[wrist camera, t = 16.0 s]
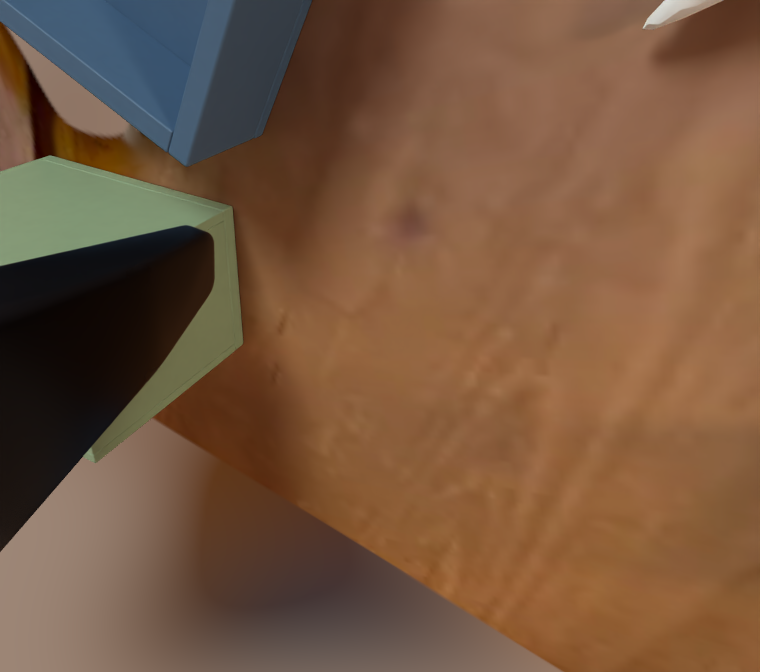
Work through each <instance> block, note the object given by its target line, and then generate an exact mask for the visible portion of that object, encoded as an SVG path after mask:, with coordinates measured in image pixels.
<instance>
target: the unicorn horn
mask: <svg viewBox="0 0 760 672" xmlns="http://www.w3.org/2000/svg"><path fill="white" fill-rule="evenodd" d="M721 1H723V0H665V1H664V2H663V3H662V4H661V5H660V6H659V7H658V8H657V9H656V10H655V11H654V12H653V13H652V14H651V15H650V16H649V17H648V19H647V21H646V23H645V25H644V27H643V29H649V30H654V29H656V28H659V27H662V26H665V25H668V24H670V23H673V22H676V21H679V20H681V19H683V18H686V17H688V16H690V15H692V14H694V13H697V12H699V11H701V10H703V9H706V8H708V7H710V6H712V5H714V4H717V3H719V2H721Z"/></svg>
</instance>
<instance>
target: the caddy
mask: <svg viewBox="0 0 760 672" xmlns="http://www.w3.org/2000/svg"><path fill="white" fill-rule="evenodd" d="M182 225H189V226H192V227H195V228H198V229H201V230H203V231H206V232H208V233H210V234H211V235H212V237H213V239H214V252H215V281H214V286H213V289H212V291H211V293H210V295H209V296H208V298H207V299H206V301H205V302H204V304H203V305H202V307H201V308H200V310H199V311H198V312H197V314H196V315H195V317H194V318H193V320H192V321H191V323H190V324H189V326H188V327H187V329H186V330H185V332H184V333H183V335H182V336H181V337H180V339H179V340H178V342H177V343H176V345H175V346H174V348H173V349H172V351H171V352H170V354H169V355H168V357H167V358H166V359H165V361H164V362H163V363H162V365H161V366H160V367H159V369H158V370H157V371H156V372H155V374H154V375H153V376H152V377H151V378H150V380H149V381H148V382H147V383H146V384H145V385H144V387H143V388H142V389H141V390H140V391H139V392H138V394H137V395H136V396H135V397H134V398H133V399H132V400H131V402H130V403H129V404H128V405H127V406H126V407H125V409H124V410H123V411H122V412H121V413H120V414H119V415H118V417H117V418H116V419H115V420H114V421H113V422H112V424H111V425H110V426H109V427H108V428H107V429H106V430H105V432H104V433H103V434H102V435H101V436H100V437H99V439H98V440H97V441H96V442H95V443H94V444H93V445H92V447H91V448H90V449H89V450H88V451H87V452H86V454H85V455H84V456H83V457H84V458H86V459H88V460H90V461H92V462H94V463H96V462H98V461H99V460H100V459H102V458H103V457H104V456H105V455H106V454H108V453H109V452H110V451H112V450H113V449H114V448H115V447H116V446H118V445H119V444H120V443H122V442H123V441H124V440H125V439H126V438H128V437H129V436H130V435H131V434H133V433H134V432H135V431H136V430H138V429H139V428H140V427H141V426H143V425H144V424H145V423H146V422H148V421H149V420H150V419H151V418H152V417H154V416H155V415H156V414H157V413H159V412H160V411H161V410H162V409H164V408H165V407H166V406H167V405H169V404H170V403H171V402H172V401H174V400H175V399H176V398H177V397H178V396H180V395H181V394H182V393H183V392H185V391H186V390H187V389H188V388H190V387H191V386H192V385H193V384H195V383H196V382H197V381H198V380H200V379H201V378H202V377H203V376H204V375H206V374H207V373H208V372H209V371H211V370H212V369H213V368H214V367H216V366H217V365H218V364H219V363H221V362H222V361H223V360H224V359H226V358H227V357H228V356H229V355H230V354H232V353H233V352H234V351H235V350H236V349H238V348H239V347H240V346H241V345H243V333H242V320H241V308H240V295H239V283H238V270H237V257H236V245H235V232H234V220H233V208H232V206H229V205H226V204H222V203H219V202H215V201H211V200H208V199H204V198H201V197H197V196H194V195H190V194H186V193H183V192H179V191H176V190H172V189H169V188H165V187H161V186H158V185H154V184H151V183H147V182H144V181H140V180H136V179H133V178H129V177H126V176H122V175H119V174H115V173H111V172H108V171H104V170H101V169H97V168H94V167H90V166H86V165H83V164H79V163H76V162H72V161H69V160H65V159H61V158H58V157H54V156H47V157H44V158H41V159H37V160H34V161H31V162H28V163H25V164H22V165H19V166H16V167H13V168H10V169H7V170H4V171H1V172H0V266H2V265H6V264H11V263H15V262H20V261H24V260H29V259H33V258H38V257H42V256H47V255H51V254H56V253H60V252H65V251H69V250H74V249H78V248H83V247H87V246H92V245H96V244H101V243H106V242H110V241H115V240H119V239H124V238H128V237H133V236H137V235H142V234H146V233H151V232H155V231H160V230H164V229H169V228H173V227H178V226H182Z"/></svg>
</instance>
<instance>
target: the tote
mask: <svg viewBox="0 0 760 672" xmlns="http://www.w3.org/2000/svg"><path fill="white" fill-rule="evenodd" d="M311 2H312V0H0V22H2V23H3V24H4V25H5V26H7V27H8V28H9V29H11V30H12V31H13V32H14V33H16V34H17V35H18V36H19V37H21V38H22V39H23V40H25V41H26V42H27V43H28V44H30V45H31V46H32V47H33V48H35V49H36V50H37V51H39V52H40V53H41V54H42V55H44V56H45V57H46V58H47V59H49V60H50V61H51V62H52V63H54V64H55V65H56V66H58V67H59V68H60V69H61V70H63V71H64V72H65V73H66V74H68V75H69V76H70V77H71V78H73V79H74V80H75V81H77V82H78V83H79V84H80V85H82V86H83V87H84V88H85V89H87V90H88V91H89V92H90V93H92V94H93V95H94V96H96V97H97V98H98V99H99V100H101V101H102V102H103V103H104V104H106V105H107V106H108V107H110V108H111V109H112V110H113V111H115V112H116V113H117V114H118V115H120V116H121V117H122V118H123V119H125V120H126V121H127V122H129V123H130V124H131V125H132V126H134V127H135V128H136V129H137V130H139V131H140V132H141V133H143V134H144V135H145V136H146V137H148V138H149V139H150V140H151V141H153V142H154V143H155V144H156V145H158V146H159V147H160V148H162V149H163V150H164V151H165V152H169V154H170V155H171V156H173V157H174V158H175V159H176V160H178V161H179V162H180V163H181V164H183V165H184V166H186V167H188V166H191V165H193V164H195V163H197V162H200V161H202V160H204V159H207V158H209V157H211V156H214V155H216V154H218V153H221V152H223V151H225V150H228V149H230V148H232V147H235V146H237V145H239V144H242V143H244V142H246V141H249V140H251V139H252V138H257V137H259V136H261V135H262V133H263V131H264V128H265V125H266V123H267V120H268V117H269V115H270V112H271V109H272V107H273V104H274V101H275V99H276V96H277V93H278V91H279V88H280V85H281V82H282V80H283V77H284V74H285V72H286V69H287V66H288V64H289V61H290V58H291V56H292V53H293V50H294V48H295V45H296V42H297V40H298V37H299V34H300V31H301V29H302V26H303V23H304V21H305V18H306V15H307V13H308V10H309V7H310V5H311Z"/></svg>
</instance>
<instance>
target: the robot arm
mask: <svg viewBox="0 0 760 672" xmlns="http://www.w3.org/2000/svg"><path fill="white" fill-rule="evenodd" d="M214 281H215V252H214V239H213V237H212V235H211V234H210V233H208V232H206V231H203V230H201V229H198V228H195V227H192V226H189V225H182V226H178V227H173V228H169V229H164V230H160V231H155V232H151V233H146V234H142V235H137V236H133V237H128V238H124V239H119V240H115V241H110V242H106V243H101V244H96V245H92V246H87V247H83V248H78V249H74V250H69V251H65V252H60V253H56V254H51V255H47V256H42V257H38V258H33V259H29V260H24V261H20V262H15V263H11V264H6V265H2V266H0V552H1V550H2V549H3V548H4V547H5V546H6V545H7V544H8V542H9V541H10V540H11V539H12V538H13V537H14V535H15V534H16V533H17V532H18V531H19V529H21V527H22V526H23V525H24V524H25V523H26V522H27V521H28V519H29V518H30V517H31V516H32V515H33V514H34V512H35V511H36V510H37V509H38V508H39V507H40V506H41V504H42V503H43V502H44V501H45V500H46V499H47V497H48V496H49V495H50V494H51V493H52V492H53V490H54V489H55V488H56V487H57V486H58V485H59V483H60V482H61V481H62V480H63V479H64V478H65V477H66V475H67V474H68V473H69V472H70V471H71V470H72V469H73V467H74V466H75V465H76V464H77V463H78V462H79V460H80V459H81V458H82V457H83V456H84V455H85V454H86V452H87V451H88V450H89V449H90V448H91V447H92V445H93V444H94V443H95V442H96V441H97V440H98V439H99V437H100V436H101V435H102V434H103V433H104V432H105V430H106V429H107V428H108V427H109V426H110V425H111V424H112V422H113V421H114V420H115V419H116V418H117V417H118V415H119V414H120V413H121V412H122V411H123V410H124V409H125V407H126V406H127V405H128V404H129V403H130V402H131V400H132V399H133V398H134V397H135V396H136V395H137V394H138V392H139V391H140V390H141V389H142V388H143V387H144V385H145V384H146V383H147V382H148V381H149V380H150V378H151V377H152V376H153V375H154V374H155V372H156V371H157V370H158V369H159V367H160V366H161V365H162V363H163V362H164V361H165V359H166V358H167V357H168V355H169V354H170V352H171V351H172V349H173V348H174V346H175V345H176V343H177V342H178V340H179V339H180V337H181V336H182V335H183V333H184V332H185V330H186V329H187V327H188V326H189V324H190V323H191V321H192V320H193V318H194V317H195V315H196V314H197V312H198V311H199V310H200V308H201V307H202V305H203V304H204V302H205V301H206V299H207V298H208V296H209V295H210V293H211V291H212V289H213V286H214Z"/></svg>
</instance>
